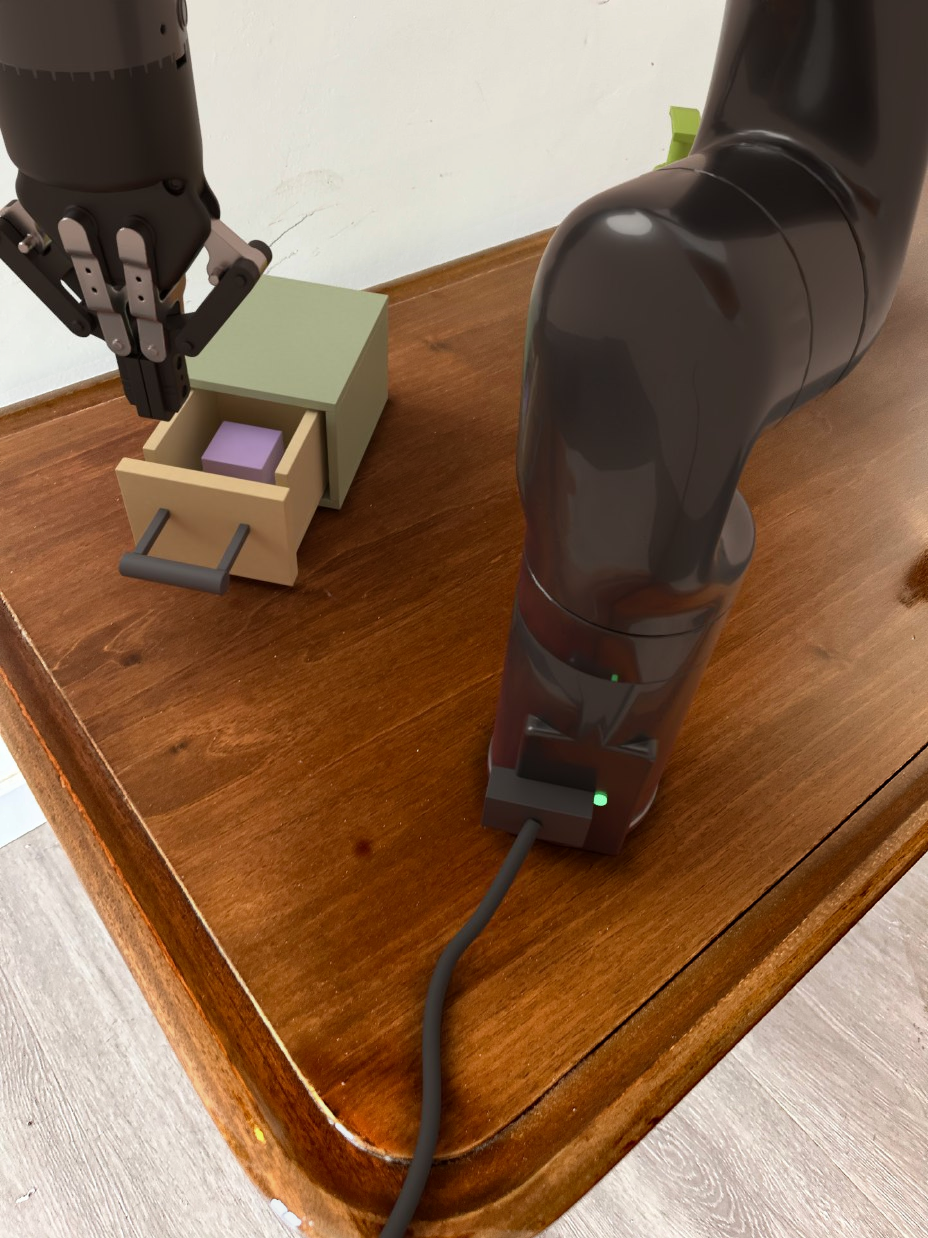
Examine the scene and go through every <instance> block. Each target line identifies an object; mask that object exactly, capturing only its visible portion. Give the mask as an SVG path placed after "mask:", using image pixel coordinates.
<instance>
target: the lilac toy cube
mask: <svg viewBox="0 0 928 1238" xmlns="http://www.w3.org/2000/svg"><path fill="white" fill-rule="evenodd" d="M283 455H284V446H283V435H282V431H278V430H272V429H267V428H261V427H256V426H250V425H245V424H239V423H234V422H228V421H223V423H222V424H221V426H220V428H219V429H218V431H217V433H216V434H215V436H214V438H213V439H212V441H211V443H210V444H209V446H208V448H207V449H206V451H205V453H204V454H203V456H202V457H201V461H202V466H203V472H206V473H211V474H217V475H222V476H227V477H233V478H238V479H243V480H249V481H254V482H260V483H265V484H270V485H276V480H275V471H276V469H277V467H278V465H279V463H280V461H281V459H282V457H283Z"/></svg>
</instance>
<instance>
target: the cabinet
mask: <svg viewBox="0 0 928 1238" xmlns="http://www.w3.org/2000/svg"><path fill="white" fill-rule="evenodd" d="M389 301H390V297H389V294H382V293H377V292H371V291H366V290H360V289H353V288H348V287H341V286H335V285H330V284H325V283H324V284H323V283H318V282H312V281H305V280H300V279H294V278H288V277H283V276H276V275H270V274H265V273H263V274H262V276H261V277H260V279H259V280H258V282H257V283H256V285H255V286H254V288H253V289H252V290H251V292H250V293H249V294H248V295H247V297H246V298H245V299H244V300H243V301H242V303H241V304H240V305H239V306H238V307H237V309H236V310H235V311H234V312H233V314H232V315H231V316H230V317H229V318H228V320H227V321H226V322H225V323H224V325H223V326H222V327H221V328H220V329H219V331H218V332H217V333H216V334H215V335H214V337H213V338H212V339H211V340H210V342H209V343H208V344H207V345H206V346H205V348H204V349H203V350H202V351H201V353H200V354H199V355H198V356H196V357H188V356H185V359H186V364H187V370H188V375H189V381H190V387H193V388H199V389H204V390H210V391H216V392H221V393H227V394H232V395H238V396H244V397H249V398H255V399H260V400H266V401H271V402H277V403H283V404H288V405H294V406H299V407H305V408H311V409H316V410H322V411H326V428H327V447H328V466H329V482H328V484H327V486H326V488H325V490H324V493H323V495H322V497H321V499H320V501H319V504H318V506H317V507H323V508H329V509H334V510H341V509H342V506H343V504H344V501H345V499H346V498H347V497H346V496H347V494H348V492H349V490H350V487H351V485H352V482H353V480H354V478H355V475H356V473H357V471H358V469H359V467H360V464H361V462H362V460H363V457H364V455H365V452H366V450H367V448H368V446H369V443H370V441H371V439H372V436H373V435H374V432H375V429H376V427H377V424H378V422H379V420H380V418H381V416H382V413H383V411H384V408H385V407H386V404H387V401H388V399H389V392H388V391H389V304H390V302H389Z"/></svg>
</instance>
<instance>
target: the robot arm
mask: <svg viewBox="0 0 928 1238" xmlns="http://www.w3.org/2000/svg"><path fill="white" fill-rule="evenodd" d="M188 17H189V15H188V4H187V0H0V134H1V136H2V140H3V144H4V147H5V150H6V153H7V156H8V157H9V159H10V161H11V162H12V163H13V165H14V166H15V167H16V168H17V175H16V179H15V184H14V189H15V194H16V197H17V198H16V199H11V200H10V201H9V202H8V203H7V204H5V205H4V206H3V207H2V208H1V209H0V260H1V261H2V262H3V263H4V264H5V265H6V266H7V267H8V269H10V270H11V271H12V272H13V273H14V275H15V276H16V277H18V279H19V280H20V281H21V282H22V283H23V284H24V285H25V286H26V287H27V288H28V289H29V290H30V292H32V293H33V294H34V295H35V296H36V297H37V298H38V299H39V300H40V301H41V302H42V304H43V305H45V307H46V308H47V309H48V310H49V311H50V312H51V313H52V314H53V315H54V316H55V317H56V318H57V319H58V320H59V321H60V322H61V323H62V324H63V325H64V326H65V327H66V329H68V330H69V331H70V332H71V333H72V334H73V335H74V336H76V337H78V338H89V337H90V335H91V336H93V337H95V338H97V339H100V340H101V341H104V342H105V344H106V347H107V348H108V349H109V350H110V351H111V352H112V353H113V354H114V357H115V360H116V363H117V369H118V372H119V376H120V377H119V378H121V379H120V380H121V385H122V389H123V392H124V396H125V398H126V399H127V401H128V403H129V404H130V405H131V406H135V409H136V412H137V415H138V417H139V418H144V419H149V420H154V421H155V420H156V421H160V422H161V421H166V422H170V421H171V419H172V418H173V416H174V415H175V413H178V412H179V411H180V409H181V408H182V406H183V405H184V403H185V402H186V400H187V399H188V397H189V394H190V391H191V387H190V381H189V375H188V370H187V364H186V359H185V356H188V357H196V356H198V355H199V354H200V353H201V351H202V350H203V349H204V348H205V346H206V345H207V344H208V343H209V342H210V340H211V339H212V338H213V337H214V335H215V334H216V333H217V332H218V331H219V329H220V328H221V327H222V326H223V325H224V323H225V322H226V321H227V320H228V318H229V317H230V316H231V315H232V314H233V312H234V311H235V310H236V309H237V307H238V306H239V305H240V304H241V303H242V301H243V300H244V299H245V298H246V297H247V295H248V294H249V293H250V292H251V290H252V289H253V288H254V286H255V285H256V283H257V282H258V280H259V279H260V277H261V276H262V274H265V271H266V270H267V269H268V267H269V265H270V264H271V263H272V260H273V258H274V257H273V251H272V248H271V247H270V246H269V244H267V243H266V242H265V241H262V240H260V239H252V240H250V241H249V242H248V243H247V242H246V241H245V240H244V239H243V238H241V237H240V236H239V235H238V234H237V233H236V232H234V231H233V230H232V228H230V227H229V226H228V225H227V224H226V223H224V222H223V221H222V220H221V214H222V213H221V205H220V203H219V202H220V201H219V199H218V198H217V196H216V194H215V193H214V191H213V190H212V188H211V186H210V184H209V181H208V180H207V177H206V175H205V171H204V169H205V168H204V148H203V147H204V145H203V136H202V128H201V123H200V122H201V121H200V115H199V114H200V113H199V107H198V100H197V93H196V84H195V78H194V72H193V71H194V70H193V62H192V55H191V48H190V42H189V41H190V40H189V33H188V23H189V22H188V20H189V18H188ZM719 32H720V33H719V34H720V35H719V37H718V38H719V39H718V43H717V48H716V53H715V58H714V63H713V68H712V72H711V78H710V82H709V86H708V90H707V95H706V99H705V103H704V106H703V110H702V113H701V120H700V124H699V127H698V131H697V134H696V137H695V140H694V143H693V146H692V148H691V151H690V153H689V155H688V157H685V158H683V159H680V160H678V161H675V162H673V163H670V164H668V165H665V166H663V167H660V168H658V169H655V170H653V169H652V170H653V171H652V170H650V171H648V172H646V173H642V174H640V175H639V176H637V177H633V178H631V179H629V180H626V181H623V182H622V183H619V184H616V185H615V186H612V187H610V188H607V189H605V190H603V191H600V192H598V193H596V194H594V195H592V196H591V197H589V198H588V199H586V200H584V201H583V202H581V203H580V204H579V205H576V207H574V208H573V209H572V210H571V211H570V212H569V213H568V214H567V216H565V218H564V219H563V220H562V221H561V222H560V223H559V224H558V226H557V228H556V229H555V231H554V233H553V234H552V236H551V237H550V239H549V241H548V243H547V245H546V247H545V249H544V251H543V254H542V255H541V259H540V261H539V264H538V267H537V269H536V273H535V277H534V280H533V285H532V288H531V293H530V297H529V303H528V307H527V315H526V316H527V317H526V321H525V322H526V323H525V331H524V332H525V333H524V342H523V353H522V367H521V383H520V395H519V398H520V399H519V409H518V410H519V411H518V422H517V423H518V424H517V437H516V450H515V475H516V484H517V490H518V496H519V500H520V504H521V509H522V511H523V514H524V519H525V525H526V526H525V531H524V532H525V533H524V539H523V545H522V551H521V559H520V565H519V570H518V577H517V581H516V587H515V594H514V599H513V605H512V612H511V617H510V618H511V619H510V624H509V631H508V637H507V643H506V648H505V649H506V650H505V655H504V661H503V662H504V663H503V668H502V675H501V680H500V688H499V694H498V700H497V706H496V713H495V719H494V727H493V734H492V736H491V738H490V742H489V745H488V746H489V747H488V753H487V759H486V772H487V774H486V775H487V779H488V780H487V781H488V782H487V787H486V792H485V796H484V803H483V809H482V815H481V820H480V826H481V827H486V828H490V829H495V830H500V831H504V832H505V833H507V834H511V835H515V836H517V837H516V839H515V840H514V842H513V843H512V846H511V848H510V850H509V851H508V853H507V856H506V857H505V859H504V861H503V863H502V865H501V867H500V868H499V870H498V872H497V874H496V875H495V878H494V879H493V880H492V883H491V884H490V886H489V888H488V890H487V892H486V893H485V895H484V896H483V897H482V900H481V901H480V902H479V905H478V906H477V907H476V909H475V910H474V912H473V913H472V915H471V916H470V917H469V919H468V920H467V921H466V922H465V923H464V925H462V927H461V928H460V929H459V931H457V933H456V934H455V935H454V936H453V937H452V938H451V940H450V941H449V942H448V944H447V945H446V946H445V948H444V950H443V951H442V953H441V954H440V956H439V958H438V960H437V963H436V965H435V968H434V970H433V973H432V977H431V980H430V983H429V985H428V989H427V993H426V994H427V995H426V998H425V1003H424V1011H423V1018H422V1021H423V1022H422V1033H421V1034H422V1035H421V1036H422V1037H421V1041H422V1042H421V1048H422V1050H421V1051H422V1052H421V1053H422V1055H421V1056H422V1101H421V1102H422V1103H421V1116H420V1125H419V1130H418V1136H417V1141H416V1145H415V1149H414V1152H413V1156H412V1160H411V1163H410V1166H409V1168H408V1172H407V1174H406V1178H405V1180H404V1182H403V1185H402V1188H401V1191H400V1193H399V1195H398V1198H397V1199H396V1202H395V1204H394V1206H393V1209H392V1211H391V1213H390V1214H389V1216H388V1219H387V1221H386V1223H385V1225H384V1227H383V1229H382V1230H381V1232H380V1233H379V1235H378V1237H377V1238H403V1237H404V1236H405V1234H406V1232H407V1229H408V1227H409V1226H410V1223H411V1222H412V1220H413V1217H414V1215H415V1212H416V1210H417V1207H418V1205H419V1203H420V1200H421V1197H422V1195H423V1192H424V1190H425V1187H426V1184H427V1181H428V1178H429V1175H430V1172H431V1169H432V1166H433V1162H434V1157H435V1154H436V1150H437V1145H438V1138H439V1133H440V1124H441V1116H442V1115H441V1114H442V1065H441V1063H442V1061H441V1060H442V1059H441V1028H442V1026H441V1025H442V1024H441V1023H442V1015H443V1008H444V1003H445V997H446V994H447V989H448V987H449V983H450V980H451V977H452V974H453V972H454V969H455V967H456V965H457V964H458V962H459V960H460V959H461V957H462V956H463V954H464V953H465V952H466V951H467V949H468V948H469V947H470V946H471V945H472V944H473V942H474V941H475V940H476V939H477V938H478V937H479V936H480V935H481V934H482V932H483V931H484V930H485V928H486V927H487V926H488V924H489V923H490V921H491V920H492V918H493V917H494V915H495V913H496V912H497V910H498V909H499V907H500V905H501V904H502V903H503V901H504V899H505V897H506V895H507V893H508V892H509V890H510V888H511V886H512V884H513V883H514V881H515V879H516V877H517V875H518V874H519V871H520V870H521V868H522V866H523V864H524V863H525V860H526V858H527V857H528V854H529V852H530V850H531V848H532V847H533V845H534V843H535V841H536V840H538V841H543V842H547V843H550V844H553V845H557V846H562V847H567V848H576V849H581V850H585V851H590V852H595V853H599V854H604V855H609V856H618V855H619V853H620V851H621V849H622V847H623V844H624V841H625V839H626V837H627V835H628V834H630V833H631V832H632V831H634V830H635V829H636V828H637V827H638V826H639V825H640V824H641V823H642V822H643V820H644V819H645V817H646V816H647V815H648V812H649V811H650V809H651V807H652V805H653V802H654V800H655V797H656V795H657V792H658V788H659V783H660V781H661V778H662V776H663V773H664V771H665V769H666V766H667V763H668V760H669V758H670V756H671V753H672V752H673V748H674V746H675V744H676V741H677V740H678V737H679V734H680V732H681V730H682V728H683V724H684V723H685V720H686V718H687V715H688V713H689V710H690V708H691V706H692V703H693V701H694V698H695V697H696V694H697V692H698V689H699V687H700V684H701V682H702V679H703V677H704V674H705V673H706V670H707V669H708V665H709V663H710V660H711V658H712V656H713V653H714V651H715V649H716V646H717V644H718V641H719V639H720V637H721V635H722V633H723V631H724V629H725V626H726V623H727V622H728V619H729V617H730V616H729V615H730V614H731V612H732V609H733V606H734V605H735V602H736V599H737V597H738V596H739V593H740V590H741V589H742V586H743V584H744V581H745V579H746V576H747V574H748V572H749V569H750V566H751V564H752V560H753V559H754V554H755V550H756V544H757V529H756V521H755V518H754V514H753V512H752V509H751V507H750V504H749V502H748V501H747V499H746V498H745V496H744V495H743V493H742V492H741V490H740V489H739V488H738V485H739V482H740V479H741V477H742V474H743V472H744V469H745V467H746V464H747V462H748V460H749V458H750V456H751V453H752V451H753V450H754V447H755V445H756V443H757V442H758V441H759V440H760V439H762V438H763V437H765V436H767V435H768V434H769V433H771V432H772V431H774V430H775V429H777V428H778V427H780V426H781V425H782V424H784V423H785V422H788V421H789V420H790V419H791V418H793V417H795V416H796V415H797V414H799V413H800V412H802V411H803V410H805V409H806V408H808V407H809V406H810V405H812V404H814V402H816V401H818V400H821V398H823V397H824V396H826V395H827V394H828V393H829V392H831V391H832V390H833V389H834V388H835V387H836V386H838V385H839V384H840V383H841V382H842V381H843V380H845V379H846V378H847V377H848V376H849V375H850V374H851V373H852V372H853V371H854V370H855V368H857V366H858V365H859V364H860V363H861V361H862V360H863V359H864V357H865V355H866V354H867V353H868V352H869V351H870V349H871V348H872V346H873V345H874V343H875V342H876V339H877V338H878V336H880V333H881V331H882V329H883V327H884V325H885V323H886V321H887V318H888V316H889V313H890V311H891V308H892V305H893V302H894V301H895V297H896V294H897V291H898V287H899V284H900V281H901V278H902V274H903V271H904V267H905V264H906V259H907V257H908V253H909V252H908V251H909V248H910V243H911V240H912V236H913V232H914V227H915V224H916V219H917V215H918V211H919V206H920V203H921V199H922V194H923V190H924V186H925V181H926V177H927V173H928V0H725V4H724V10H723V16H722V22H721V28H720V31H719ZM204 248H205V249H206V251H207V253H208V261H207V264H206V269H205V270H206V273H207V276H208V278H207V280H208V283H209V284H210V285H211V286H213V287H212V288H211V290H210V292H209V293H208V294H207V296H205V298H204V300H203V301H201V303H200V304H199V306H197V309H195V311H190V312H185V303H184V293H185V290H186V287H187V273H188V271H189V270H190V268H191V267H192V265H193V264H194V263H195V261H196V259H197V258H198V256H199V255H200V253H201V251H203V249H204ZM62 282H63V283H64V284H65V285H66V286H67V287H68V288H69V289H70V290H71V291H72V292H73V293H74V294H75V296H77V298H78V299H79V300H80V302H79V301H78V300H77V299H76V298H75V297H74V296H73V295H72V294H71V292H69V290H67V288H66V287H64V285H63V283H62Z"/></svg>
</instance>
